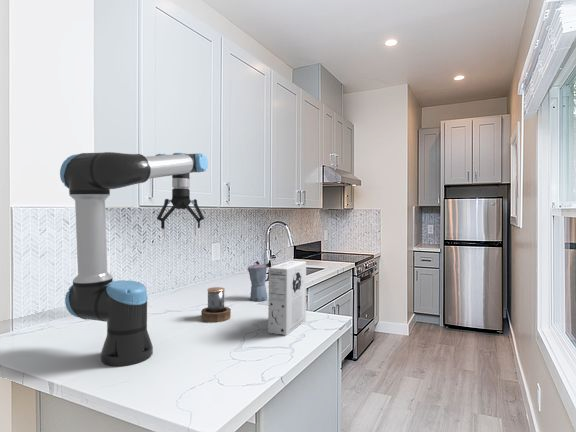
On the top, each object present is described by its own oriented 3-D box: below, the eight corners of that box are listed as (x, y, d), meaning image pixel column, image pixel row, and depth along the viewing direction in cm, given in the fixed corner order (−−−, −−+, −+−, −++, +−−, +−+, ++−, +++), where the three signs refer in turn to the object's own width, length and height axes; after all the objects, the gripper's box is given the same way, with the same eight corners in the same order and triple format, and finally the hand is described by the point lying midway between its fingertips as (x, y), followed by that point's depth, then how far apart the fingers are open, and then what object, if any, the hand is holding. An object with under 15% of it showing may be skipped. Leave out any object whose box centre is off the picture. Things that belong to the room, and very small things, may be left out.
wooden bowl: (234, 319, 158) (234, 311, 158) (207, 323, 152) (207, 315, 152) (224, 312, 168) (224, 304, 168) (198, 316, 162) (198, 308, 162)
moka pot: (241, 300, 191) (242, 261, 191) (263, 295, 202) (263, 258, 202) (254, 303, 185) (254, 263, 184) (276, 298, 196) (276, 260, 195)
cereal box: (289, 317, 161) (290, 260, 161) (306, 320, 158) (306, 261, 158) (267, 333, 141) (268, 267, 141) (286, 336, 138) (286, 269, 138)
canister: (227, 317, 159) (227, 289, 159) (210, 320, 155) (211, 291, 155) (220, 313, 165) (220, 286, 165) (205, 315, 161) (205, 288, 161)
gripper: (206, 189, 175) (206, 234, 175) (150, 187, 164) (150, 236, 164) (210, 188, 168) (210, 235, 169) (152, 187, 157) (152, 237, 158)
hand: (180, 236), depth 166 cm, fingers open, 13 cm apart
